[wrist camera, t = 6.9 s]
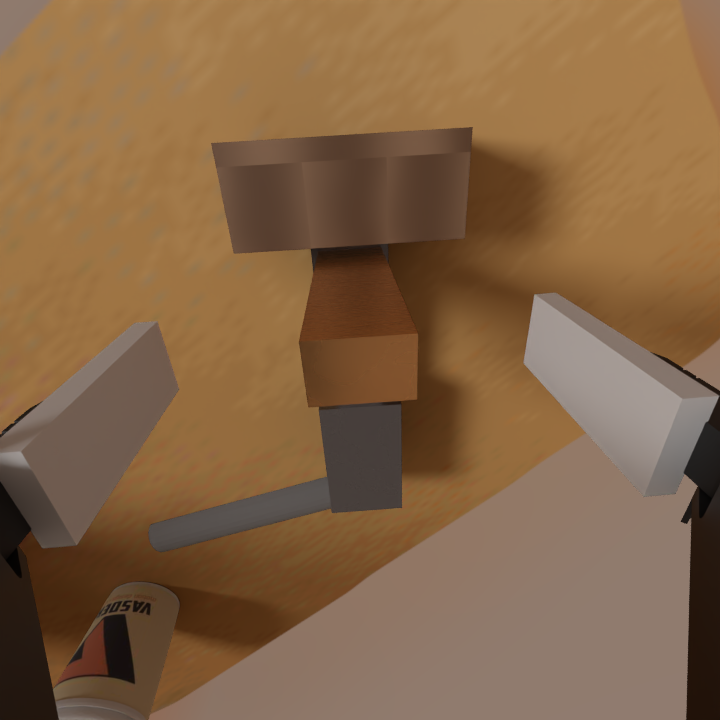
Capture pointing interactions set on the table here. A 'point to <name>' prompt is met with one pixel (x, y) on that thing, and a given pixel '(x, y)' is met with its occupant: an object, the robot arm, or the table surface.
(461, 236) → the walnut socket
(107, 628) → the coffee cup
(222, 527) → the half round rod
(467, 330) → the table surface
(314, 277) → the sliding bar
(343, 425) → the dark grey block
